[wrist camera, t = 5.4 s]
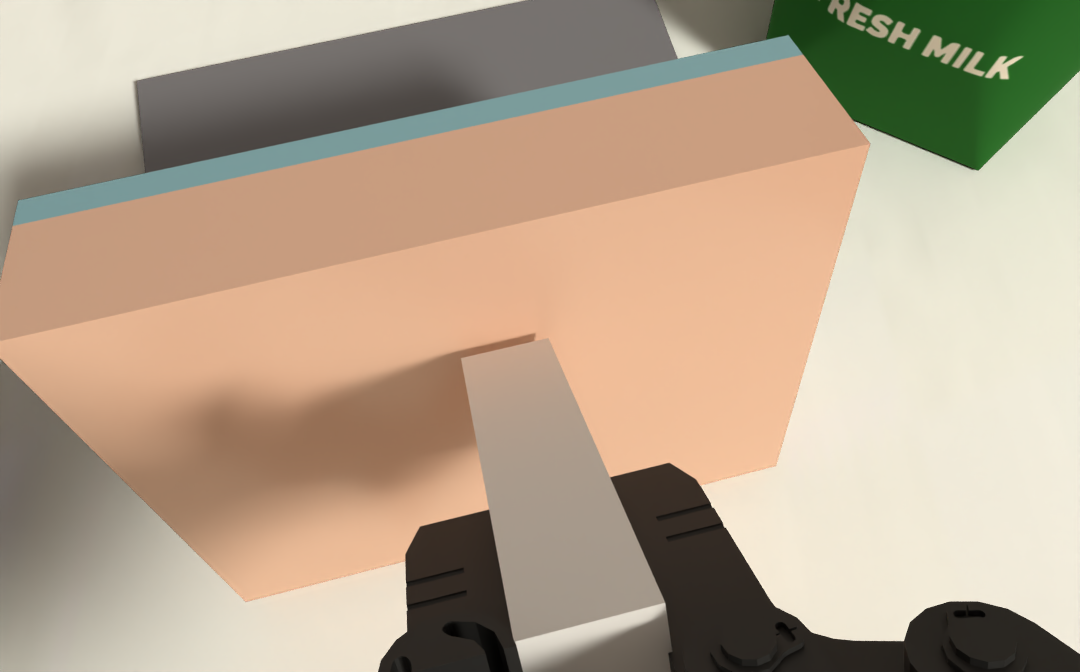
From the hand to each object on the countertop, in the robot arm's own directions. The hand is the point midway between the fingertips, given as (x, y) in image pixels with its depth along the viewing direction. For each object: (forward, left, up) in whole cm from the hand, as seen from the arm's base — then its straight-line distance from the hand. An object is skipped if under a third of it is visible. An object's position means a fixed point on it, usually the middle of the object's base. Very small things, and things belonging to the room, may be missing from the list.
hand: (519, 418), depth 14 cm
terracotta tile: (-1, 0, -7) cm, 7 cm away
